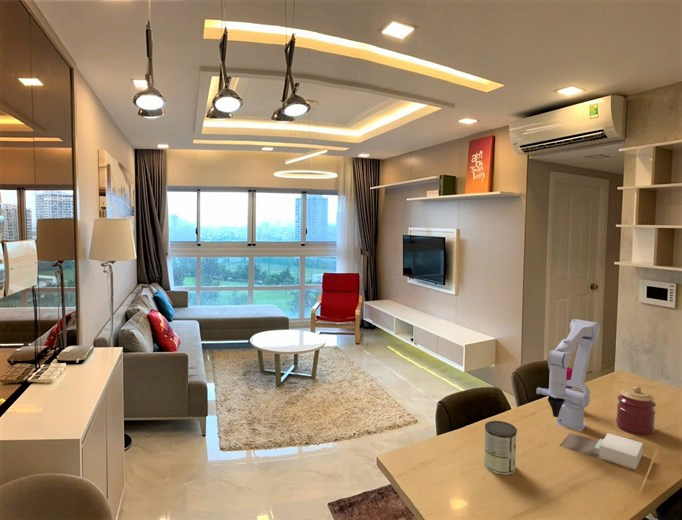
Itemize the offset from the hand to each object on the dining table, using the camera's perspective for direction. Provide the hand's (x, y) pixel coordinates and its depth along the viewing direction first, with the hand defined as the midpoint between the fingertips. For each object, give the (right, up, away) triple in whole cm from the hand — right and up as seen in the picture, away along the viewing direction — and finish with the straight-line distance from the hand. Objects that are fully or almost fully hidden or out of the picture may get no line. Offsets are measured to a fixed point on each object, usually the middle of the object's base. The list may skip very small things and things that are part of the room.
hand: (555, 416), depth 168 cm
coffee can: (-28, -11, -18) cm, 35 cm away
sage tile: (+16, -10, -11) cm, 22 cm away
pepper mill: (+19, -7, +31) cm, 37 cm away
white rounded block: (+17, -11, -12) cm, 23 cm away
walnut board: (+12, -10, -8) cm, 18 cm away
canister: (+37, -9, +10) cm, 39 cm away
